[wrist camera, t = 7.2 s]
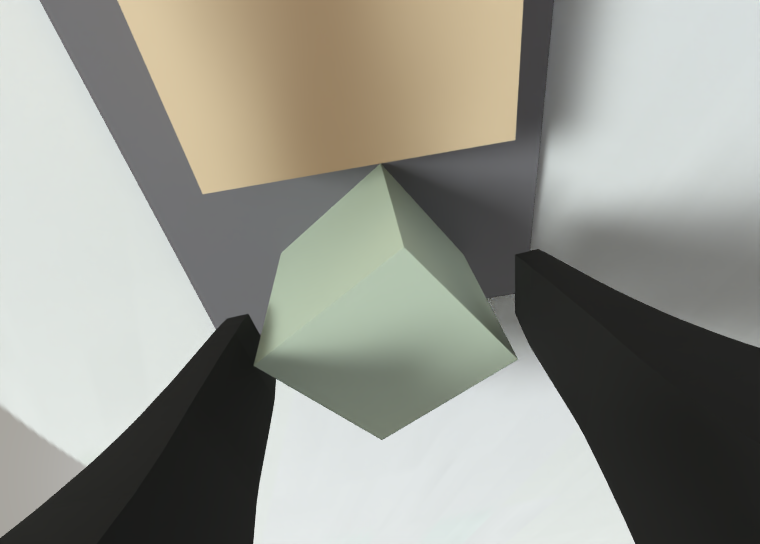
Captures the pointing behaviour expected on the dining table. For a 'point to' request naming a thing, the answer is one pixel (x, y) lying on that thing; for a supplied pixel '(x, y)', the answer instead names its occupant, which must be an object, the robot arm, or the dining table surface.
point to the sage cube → (379, 312)
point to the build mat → (310, 193)
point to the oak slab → (328, 81)
